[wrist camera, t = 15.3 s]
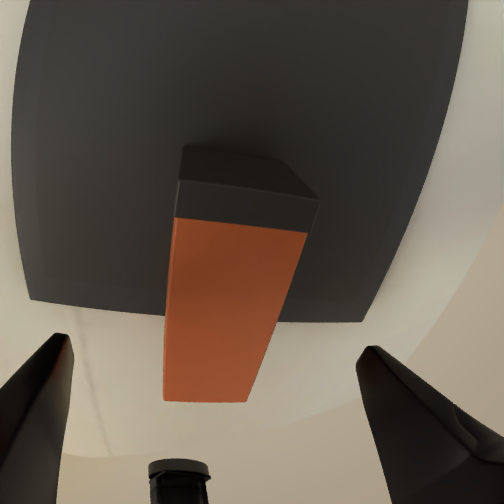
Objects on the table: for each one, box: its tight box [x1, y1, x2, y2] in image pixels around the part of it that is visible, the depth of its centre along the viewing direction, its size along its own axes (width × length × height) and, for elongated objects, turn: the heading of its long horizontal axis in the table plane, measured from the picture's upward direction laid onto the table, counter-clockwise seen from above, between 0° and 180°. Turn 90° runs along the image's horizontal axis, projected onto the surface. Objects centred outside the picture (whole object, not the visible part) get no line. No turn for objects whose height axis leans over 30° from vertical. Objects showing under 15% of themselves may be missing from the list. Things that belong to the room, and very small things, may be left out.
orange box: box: [163, 146, 321, 402], centre depth 11 cm, size 9×4×4 cm, turn 168°
